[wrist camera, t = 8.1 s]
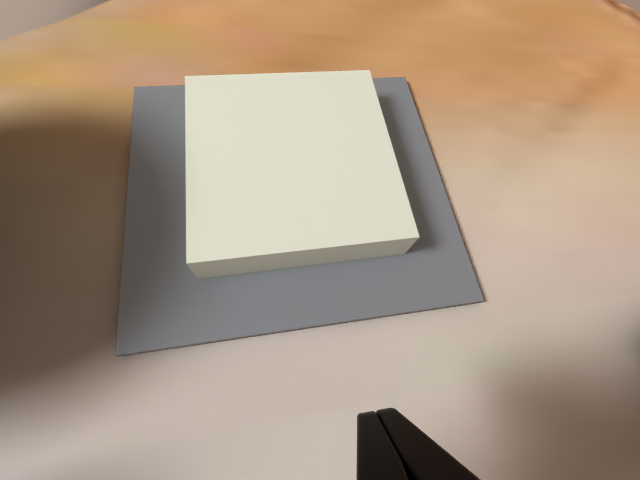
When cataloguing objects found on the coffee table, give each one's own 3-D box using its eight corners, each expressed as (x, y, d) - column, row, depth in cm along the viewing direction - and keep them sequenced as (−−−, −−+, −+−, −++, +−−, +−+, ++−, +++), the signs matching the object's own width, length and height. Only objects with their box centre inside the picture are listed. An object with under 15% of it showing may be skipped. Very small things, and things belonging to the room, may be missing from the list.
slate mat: (479, 302, 20) (484, 300, 20) (119, 356, 17) (115, 355, 17) (403, 82, 27) (405, 76, 26) (137, 92, 24) (134, 87, 23)
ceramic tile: (419, 237, 18) (369, 70, 23) (186, 263, 16) (184, 76, 21) (404, 254, 20) (361, 99, 25) (198, 278, 18) (194, 106, 23)
